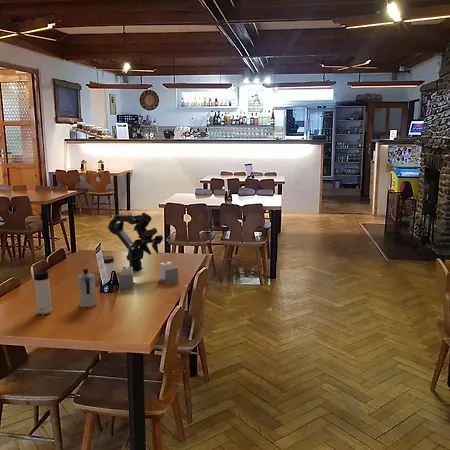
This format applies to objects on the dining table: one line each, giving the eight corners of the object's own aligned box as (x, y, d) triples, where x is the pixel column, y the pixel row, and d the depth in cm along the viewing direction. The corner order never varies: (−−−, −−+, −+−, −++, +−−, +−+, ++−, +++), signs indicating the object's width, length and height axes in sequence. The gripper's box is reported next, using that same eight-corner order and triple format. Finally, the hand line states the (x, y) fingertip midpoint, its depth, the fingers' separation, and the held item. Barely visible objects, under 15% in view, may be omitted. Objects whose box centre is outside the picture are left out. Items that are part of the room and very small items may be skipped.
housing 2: (158, 280, 266) (158, 267, 265) (169, 278, 271) (168, 264, 270) (168, 284, 260) (167, 270, 259) (178, 281, 265) (177, 267, 264)
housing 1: (121, 284, 261) (121, 270, 259) (135, 284, 261) (134, 270, 260) (119, 289, 253) (118, 275, 251) (133, 289, 253) (132, 274, 251)
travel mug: (43, 316, 217) (39, 274, 213) (34, 313, 220) (30, 272, 217) (55, 312, 222) (51, 270, 218) (46, 309, 226) (42, 268, 222)
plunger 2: (160, 278, 266) (159, 262, 265) (168, 276, 270) (167, 260, 268) (164, 280, 264) (164, 264, 262) (172, 277, 267) (172, 262, 266)
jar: (99, 276, 277) (97, 256, 274) (113, 274, 280) (112, 255, 277) (101, 280, 268) (100, 260, 266) (116, 278, 272) (114, 258, 269)
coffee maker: (77, 301, 235) (75, 266, 232) (96, 299, 238) (93, 264, 235) (80, 312, 222) (77, 274, 218) (99, 309, 225) (96, 272, 221)
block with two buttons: (123, 282, 260) (122, 266, 259) (133, 282, 261) (132, 266, 259) (122, 284, 256) (121, 268, 255) (132, 284, 257) (131, 268, 255)
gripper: (133, 226, 267) (145, 248, 261) (161, 221, 279) (173, 242, 274) (127, 237, 274) (138, 259, 268) (153, 232, 286) (165, 253, 281)
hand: (154, 253), depth 272 cm, fingers open, 5 cm apart
